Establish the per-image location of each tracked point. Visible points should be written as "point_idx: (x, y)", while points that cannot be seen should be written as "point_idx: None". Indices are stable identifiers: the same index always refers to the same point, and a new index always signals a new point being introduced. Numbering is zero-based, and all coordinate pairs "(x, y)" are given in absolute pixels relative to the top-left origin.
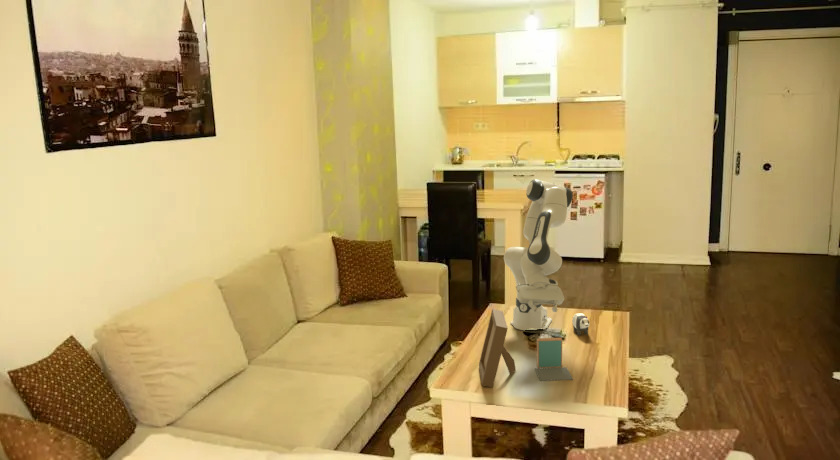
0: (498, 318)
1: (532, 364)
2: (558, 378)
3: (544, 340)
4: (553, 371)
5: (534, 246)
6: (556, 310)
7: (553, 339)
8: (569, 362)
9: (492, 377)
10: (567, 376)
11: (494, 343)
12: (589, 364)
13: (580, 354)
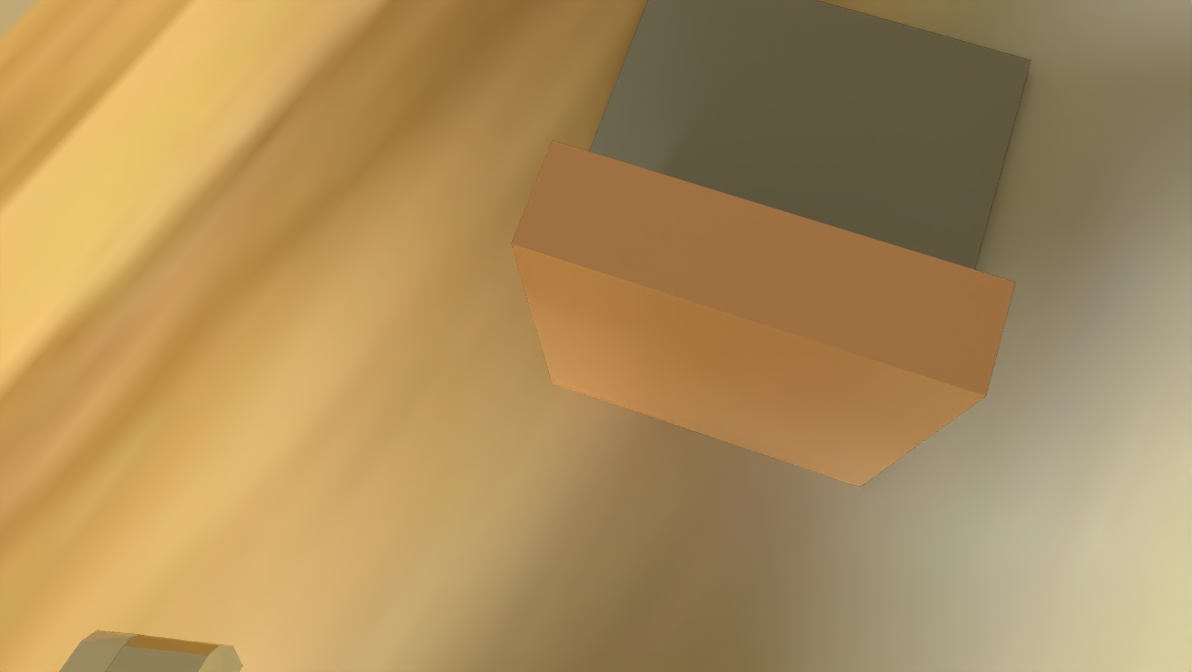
0: None
1: (895, 554)
2: (812, 19)
3: (882, 245)
4: None
5: None
6: (144, 639)
7: (701, 206)
8: (404, 408)
9: None
10: (689, 26)
11: None
12: (226, 251)
13: (93, 599)
